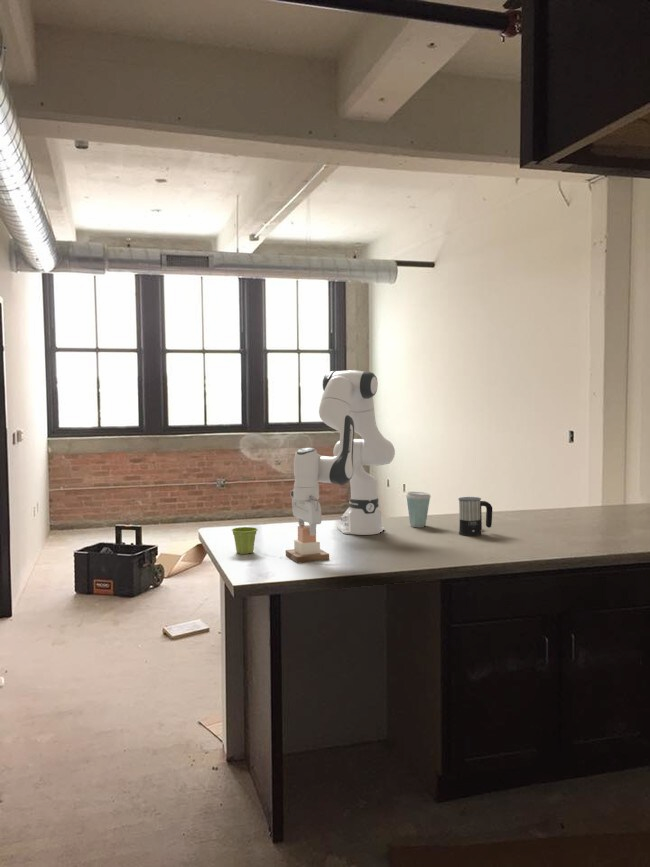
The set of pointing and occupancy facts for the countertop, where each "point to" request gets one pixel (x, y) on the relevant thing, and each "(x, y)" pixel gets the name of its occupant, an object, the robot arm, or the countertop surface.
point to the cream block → (306, 547)
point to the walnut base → (307, 556)
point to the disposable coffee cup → (418, 508)
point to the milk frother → (473, 515)
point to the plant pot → (244, 539)
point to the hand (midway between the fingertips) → (306, 532)
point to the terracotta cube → (305, 534)
